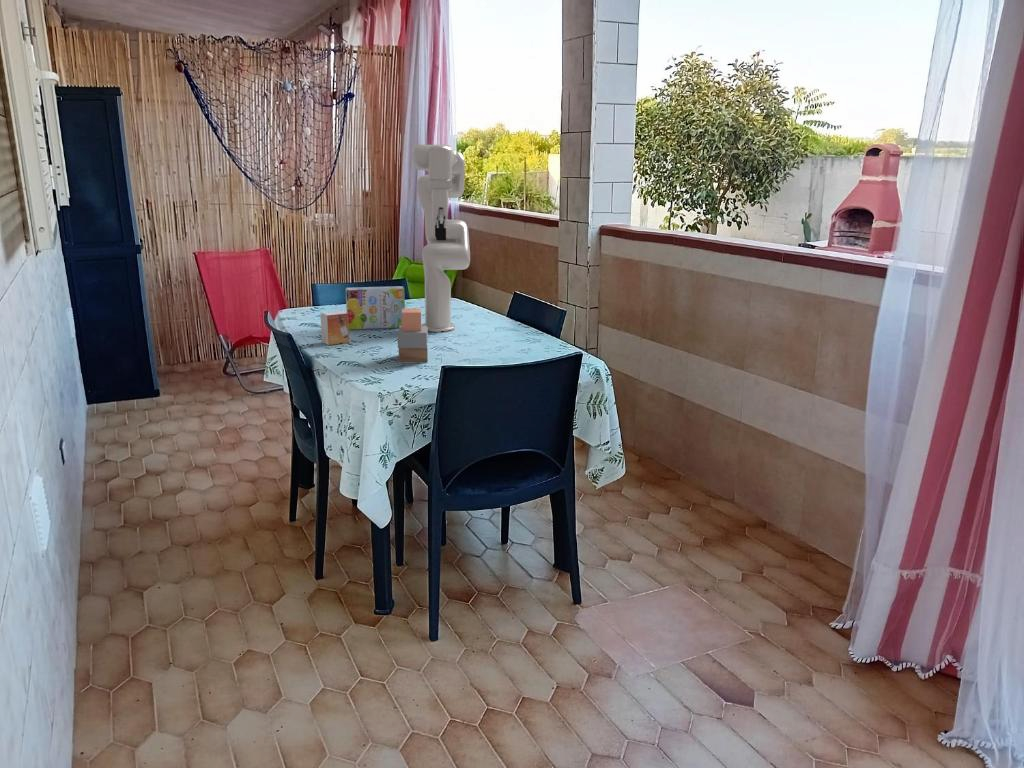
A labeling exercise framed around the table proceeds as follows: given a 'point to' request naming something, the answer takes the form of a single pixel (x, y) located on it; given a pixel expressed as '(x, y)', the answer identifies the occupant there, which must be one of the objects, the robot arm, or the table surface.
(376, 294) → the snack box
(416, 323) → the terracotta cube
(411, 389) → the table surface
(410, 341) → the tower top block
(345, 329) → the small box
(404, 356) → the tower bottom block
